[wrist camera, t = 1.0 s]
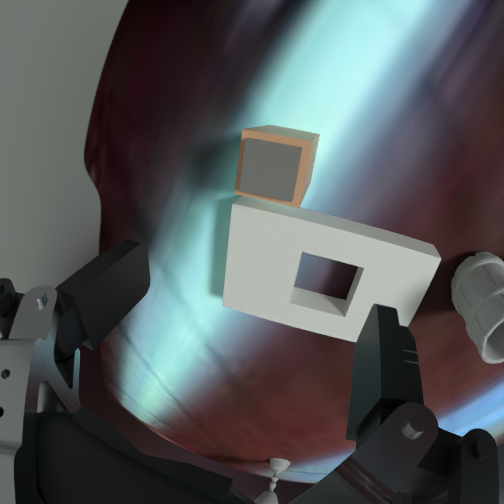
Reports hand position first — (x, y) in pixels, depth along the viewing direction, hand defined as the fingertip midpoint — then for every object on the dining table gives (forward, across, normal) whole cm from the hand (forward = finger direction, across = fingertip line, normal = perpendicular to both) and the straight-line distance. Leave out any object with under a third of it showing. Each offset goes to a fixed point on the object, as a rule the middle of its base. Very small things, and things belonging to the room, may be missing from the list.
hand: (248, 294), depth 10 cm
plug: (+19, +2, -2) cm, 19 cm away
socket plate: (+19, -4, +10) cm, 22 cm away
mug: (+19, -23, +5) cm, 30 cm away
